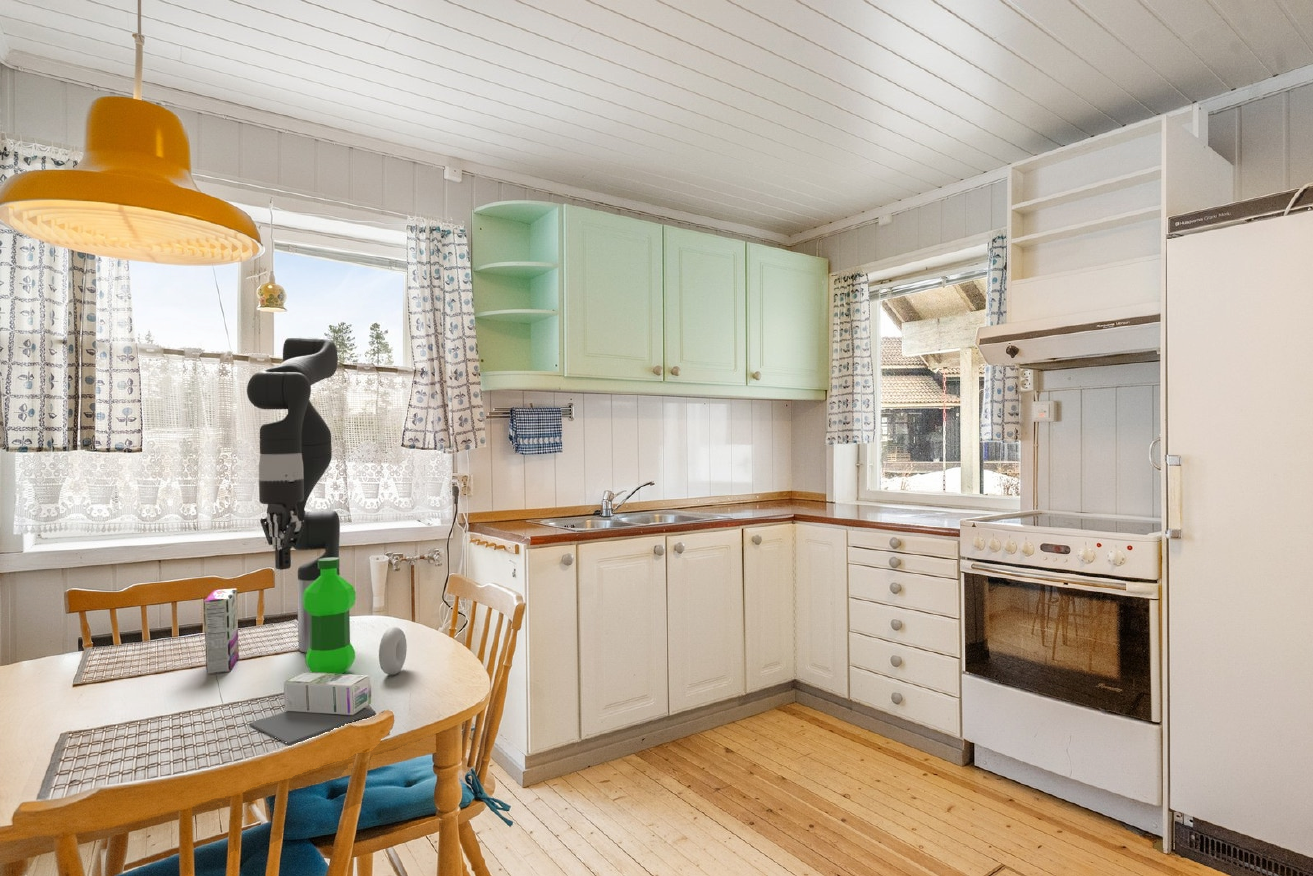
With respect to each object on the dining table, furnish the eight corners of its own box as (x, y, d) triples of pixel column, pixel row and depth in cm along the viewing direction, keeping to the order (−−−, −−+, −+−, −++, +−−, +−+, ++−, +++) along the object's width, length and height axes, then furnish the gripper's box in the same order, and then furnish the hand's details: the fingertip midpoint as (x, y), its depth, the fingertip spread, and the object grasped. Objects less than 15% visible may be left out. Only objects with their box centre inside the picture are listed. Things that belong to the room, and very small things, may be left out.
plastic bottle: (364, 666, 161) (362, 554, 161) (342, 683, 150) (339, 563, 150) (320, 666, 161) (317, 555, 161) (295, 683, 151) (292, 563, 150)
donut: (394, 666, 161) (393, 621, 161) (409, 666, 161) (408, 621, 161) (376, 682, 151) (375, 634, 151) (392, 682, 151) (392, 634, 151)
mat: (249, 725, 129) (249, 723, 129) (334, 698, 142) (334, 696, 142) (288, 745, 121) (288, 742, 121) (375, 714, 133) (375, 711, 133)
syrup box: (283, 712, 134) (353, 717, 131) (282, 680, 134) (352, 685, 131) (304, 700, 140) (372, 705, 137) (303, 670, 139) (371, 674, 137)
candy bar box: (214, 660, 167) (213, 589, 166) (239, 657, 169) (238, 587, 168) (204, 675, 156) (202, 600, 156) (230, 672, 158) (229, 597, 158)
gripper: (244, 477, 138) (246, 568, 138) (278, 480, 130) (280, 576, 130) (284, 475, 144) (285, 562, 144) (319, 477, 136) (320, 569, 136)
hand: (283, 568), depth 137 cm, fingers closed
